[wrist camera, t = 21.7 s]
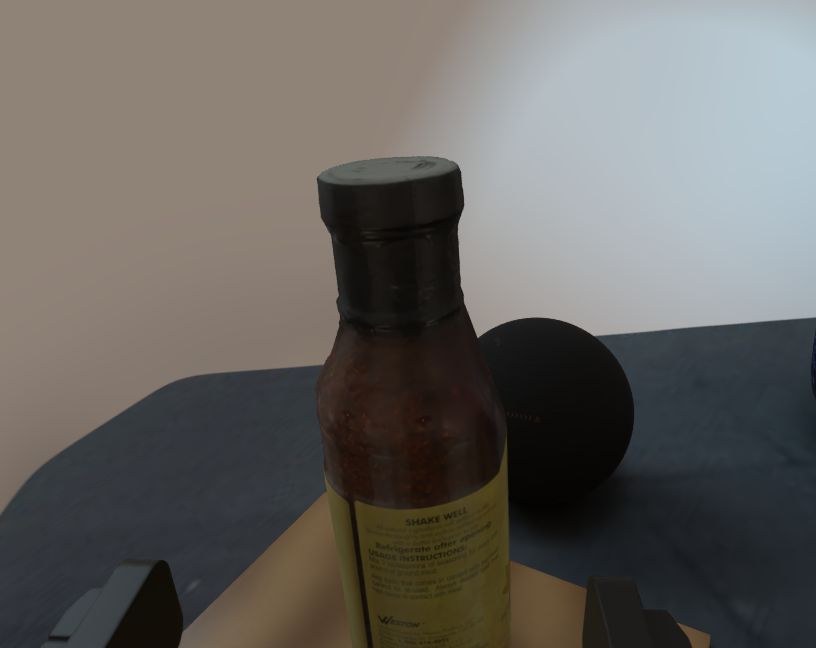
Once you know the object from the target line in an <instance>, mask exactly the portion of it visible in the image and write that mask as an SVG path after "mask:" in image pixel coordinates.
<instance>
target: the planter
mask: <svg viewBox="0 0 816 648" xmlns="http://www.w3.org/2000/svg"><path fill="white" fill-rule="evenodd" d="M811 380H812V390H813V393H814V396H815V399H816V331H815V338H814V344H813V353H812V362H811Z"/></svg>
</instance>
